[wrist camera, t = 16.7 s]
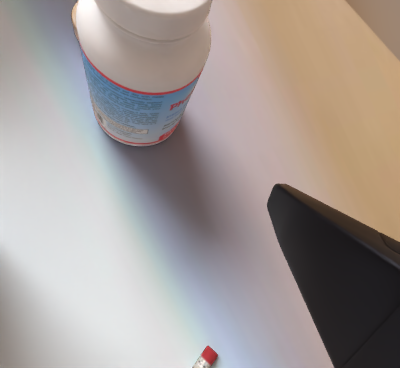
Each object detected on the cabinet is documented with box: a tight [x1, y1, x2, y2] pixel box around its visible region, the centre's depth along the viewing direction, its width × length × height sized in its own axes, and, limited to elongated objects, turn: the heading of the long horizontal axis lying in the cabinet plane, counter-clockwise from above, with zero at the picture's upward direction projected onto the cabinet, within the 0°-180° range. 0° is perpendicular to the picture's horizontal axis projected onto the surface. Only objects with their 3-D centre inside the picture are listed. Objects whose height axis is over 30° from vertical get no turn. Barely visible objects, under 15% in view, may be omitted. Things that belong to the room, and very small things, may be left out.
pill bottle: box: [76, 0, 212, 146], centre depth 15 cm, size 6×6×11 cm
